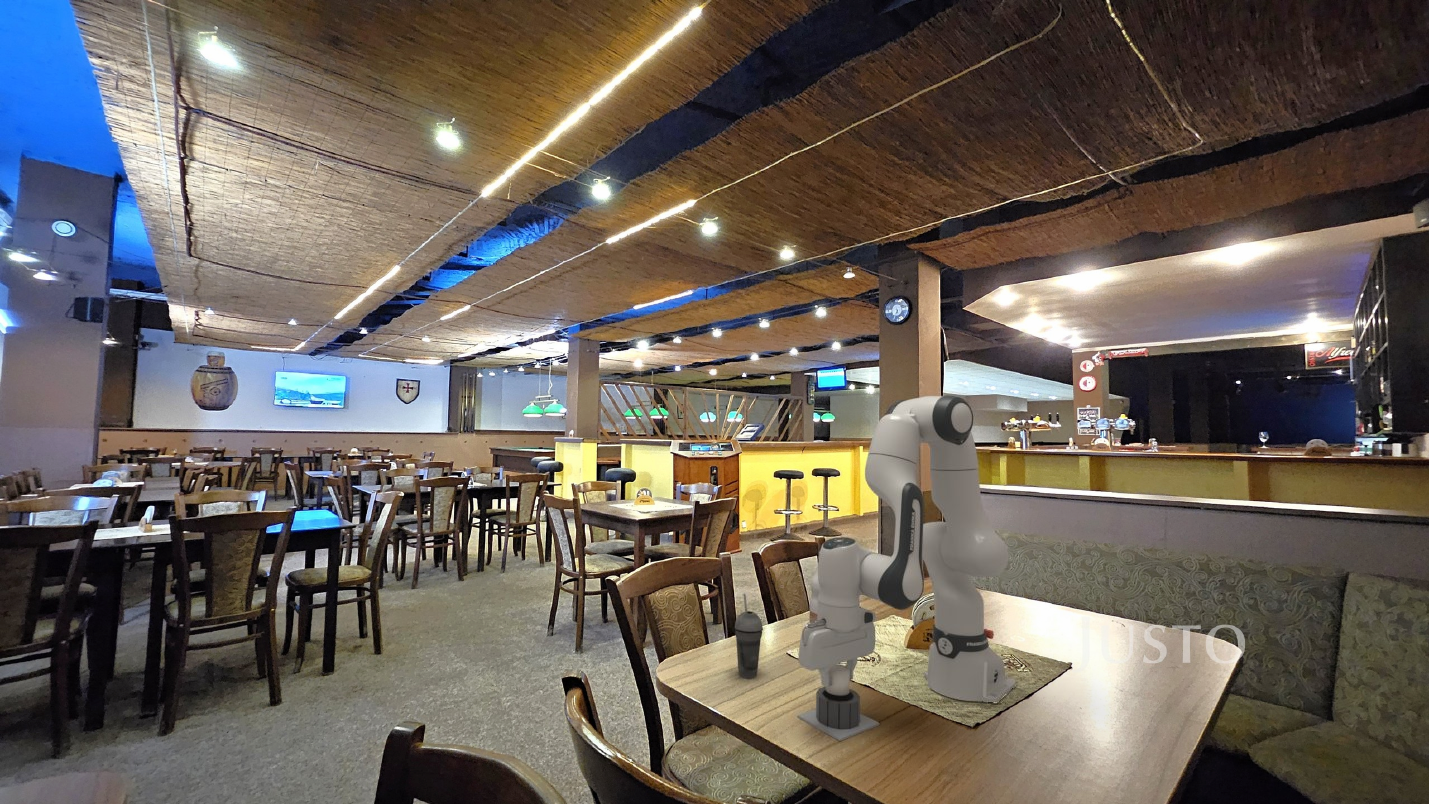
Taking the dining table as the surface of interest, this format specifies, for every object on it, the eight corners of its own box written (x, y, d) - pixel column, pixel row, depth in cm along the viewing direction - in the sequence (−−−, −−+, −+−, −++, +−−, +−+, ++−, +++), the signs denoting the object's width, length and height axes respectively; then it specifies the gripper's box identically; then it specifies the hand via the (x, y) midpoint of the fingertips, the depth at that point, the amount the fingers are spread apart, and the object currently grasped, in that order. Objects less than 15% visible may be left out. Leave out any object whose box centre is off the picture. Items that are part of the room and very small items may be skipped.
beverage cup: (760, 682, 142) (761, 598, 143) (730, 679, 143) (732, 596, 144) (763, 671, 149) (765, 591, 150) (735, 668, 150) (737, 589, 152)
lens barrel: (836, 703, 131) (836, 678, 132) (879, 725, 122) (879, 698, 122) (797, 716, 124) (797, 690, 125) (839, 741, 115) (840, 712, 115)
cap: (836, 683, 127) (836, 662, 127) (854, 692, 123) (854, 670, 123) (820, 688, 124) (820, 666, 124) (838, 697, 120) (838, 674, 120)
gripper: (814, 627, 116) (813, 699, 115) (880, 612, 128) (880, 677, 127) (792, 619, 121) (791, 688, 120) (858, 605, 133) (857, 667, 132)
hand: (837, 682), depth 123 cm, fingers closed on cap, 5 cm apart
